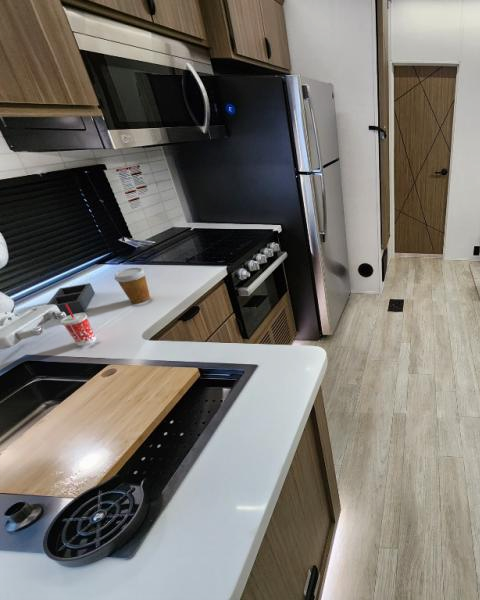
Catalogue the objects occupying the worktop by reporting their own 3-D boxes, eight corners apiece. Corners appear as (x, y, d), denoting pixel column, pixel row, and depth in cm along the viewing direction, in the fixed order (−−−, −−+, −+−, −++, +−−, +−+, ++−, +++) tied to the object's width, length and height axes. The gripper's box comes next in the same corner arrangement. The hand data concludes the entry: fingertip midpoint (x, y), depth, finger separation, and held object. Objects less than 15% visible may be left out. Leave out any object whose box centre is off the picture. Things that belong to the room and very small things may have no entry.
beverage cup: (102, 334, 109) (83, 297, 103) (93, 345, 104) (72, 307, 98) (80, 338, 108) (59, 300, 101) (70, 348, 103) (46, 310, 96)
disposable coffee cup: (152, 292, 137) (141, 265, 131) (157, 299, 131) (146, 271, 125) (124, 299, 131) (111, 272, 125) (128, 308, 125) (115, 279, 119)
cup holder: (51, 318, 119) (44, 307, 117) (65, 298, 133) (59, 288, 130) (84, 312, 123) (78, 301, 121) (95, 293, 137) (90, 283, 135)
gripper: (35, 317, 111) (81, 314, 113) (-24, 355, 93) (31, 351, 95) (25, 301, 108) (72, 298, 110) (-39, 337, 90) (18, 332, 92)
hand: (52, 323), depth 102 cm, fingers open, 8 cm apart
